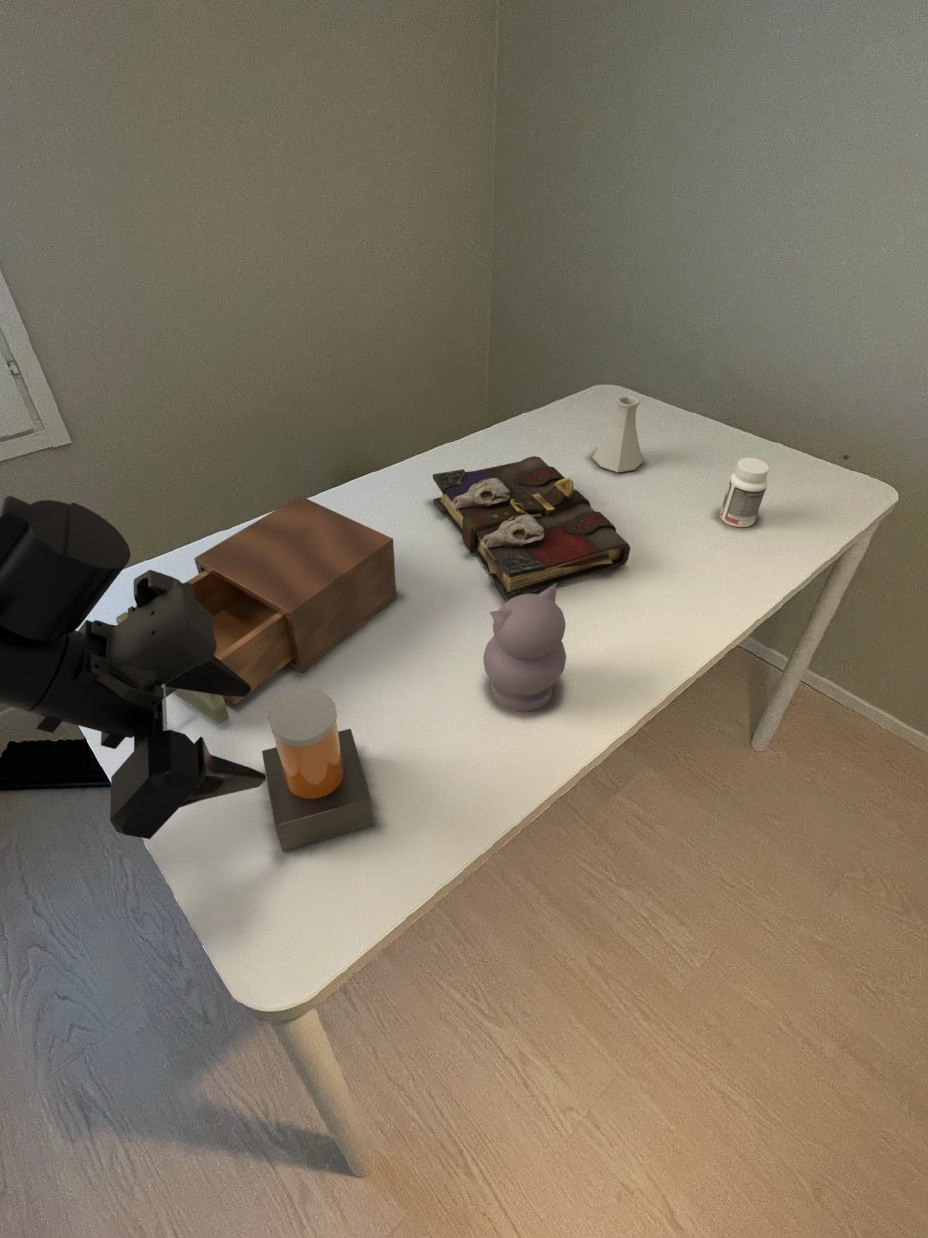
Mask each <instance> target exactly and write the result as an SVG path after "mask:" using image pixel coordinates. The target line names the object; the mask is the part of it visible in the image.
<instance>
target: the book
mask: <svg viewBox="0 0 928 1238" xmlns="http://www.w3.org/2000/svg"><path fill="white" fill-rule="evenodd" d="M432 480H433V481H434V483H435V484H436V486H437V487H438V489H439V490H440V492H441V496H440V497H436V498H433V499H432V503H433V505H434V506H435V507H436V508H437V509H438V510H439V511H440V513H441V514H442V515H445V516H446V517H447V519H448V520H449V521H450V523H452V525H453V526H454V527H455V528H456V529H457V531H458V532H459V533H460V534H461V535H462V541H463V543H464V545H465V547H466V549H467V550H468V552H469V553H470V554H473V555H474V554H475V555H476V556H477V558H478V559H479V561H480V562H481V563H482V565H483V567H484V568H485V570H486V571H487V573H488V574H489V576H490V577H491V579H492V580H493V583H494V586H495V587H496V589H497V591H498V592H499V594H500V595H501V597H502V599H503V600H504V603H506V602H507V601H509V600H510V599H512V598H514V597H516V596H519V595H523V594H540V593H541V592H543V591H544V590H545V588H546V589H547V588H549V587H551V586H552V585H554V584H555V583H557V585H559V584H561V583H565V582H569V581H573V580H575V579H578V578H579V579H580V578H581V577H582V578H583V577H586V576H590V575H593V574H596V573H599V572H604V571H614V570H618V569H620V568H622V567H623V566H624V565H626V563H627V562H628V561H629V557H630V552H631V547H630V546H631V545H630V544H629V543H628V542H627V541H626V540H625V539H624V538H623V537H622V536H621V535H620V534H619V533H618V532H617V528H616V526H615V525H614V524H613V523H612V522H611V521H610V520H609V519H608V518H607V517H606V516H605V515H604V514H603V513H601V512H600V511H595V510H594V509H593V508H592V505H591V502H590V500H588V499H587V497H585V495H583V494H582V493H581V492H580V491H579V490H578V489H574V480H572V479H571V478H570V477H565V476H563V474H562V473H561V472H560V471H558V469H556V468H555V467H554V466H551V465H548V463H546V462H545V461H544V460H543V459H542V458H541V457H540V456H536V455H532V456H529V457H526V458H524V459H522V460H520V461H516V462H510V463H506V464H500V465H497V466H491V467H486V468H481V469H477V470H471V471H470V470H469V471H465V469H464V468H463V469H462V468H461V469H456V470H449V471H445V472H444V471H443V472H438V473H433V474H432Z"/></svg>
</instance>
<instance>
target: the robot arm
mask: <svg viewBox="0 0 928 1238" xmlns="http://www.w3.org/2000/svg"><path fill="white" fill-rule="evenodd" d="M130 558H131V550H130V547H129V544H128V542H127V541H126V539H125V537H124V536H123V535H122V533H120V532H119V531H118V529H117V528H116V527H115V526H114V525H112V523H110V522H109V521H108V520H107V519H105V518H104V517H102V516H101V515H99V514H98V513H96V512H94V511H93V510H91V509H89V508H87V507H85V506H83V505H81V504H79V503H76V502H71V503H68V502H67V503H66V502H63V501H58V500H53V499H44V500H43V499H42V500H41V499H40V500H37V501H35V502H32V503H28V502H26V501H24V500H21V499H19V498H17V497H15V496H12V495H6V496H5V497H4V498H3V500H2V501H1V503H0V705H1V706H5V707H8V708H12V709H16V710H20V711H22V712H27V713H31V714H34V715H37V718H36V720H37V721H36V726H35V727H36V728H35V729H36V730H39V731H43V732H47V733H50V734H53V733H54V732H55V731H56V730H57V728H58V727H59V726H60V725H61V723H62V722H64V723H68V724H71V725H75V726H78V727H82V728H87V729H90V730H94V731H98V732H100V734H101V735H100V746H101V747H105V748H110V749H112V750H116V749H117V748H118V747H119V746H120V745H121V744H122V742H123V741H124V740H125V739H126V738H129V739H133V751H132V753H130V754H129V756H128V757H127V758H126V759H125V761H124V762H123V763H122V764H121V765H120V766H119V767H118V768H117V770H116V771H115V772H113V774H112V775H111V777H110V807H109V808H110V810H109V811H110V813H109V821H110V823H111V824H112V826H113V828H114V830H115V831H116V833H118V834H122V835H124V836H130V837H134V838H140V839H146V840H151V839H152V838H153V836H155V835H156V834H157V832H158V831H160V829H161V828H162V827H163V826H164V825H165V824H166V823H167V822H168V821H169V819H170V818H171V817H172V816H173V815H174V814H175V813H176V812H177V811H178V810H179V809H180V808H184V807H186V806H189V805H193V804H196V803H198V802H201V801H205V800H208V799H209V800H210V799H212V798H218V797H221V796H226V795H231V794H235V793H239V792H243V791H248V790H252V789H256V788H259V787H260V786H261V785H263V784H264V783H265V782H266V781H267V779H266V773H263V772H261V771H259V770H257V769H255V768H253V767H249V766H246V765H244V764H241V763H239V762H236V761H231V760H229V759H226V758H223V757H219V756H217V755H213V754H211V752H210V751H209V749H208V746H207V743H206V741H205V739H204V737H203V736H200V737H198V739H197V740H196V741H195V742H194V741H192V739H190V737H188V735H187V734H186V733H183V732H181V731H176V730H173V729H168V714H167V697H166V689H165V687H169V688H175V689H183V690H189V691H196V692H202V693H209V694H215V695H222V696H232V697H244V698H245V697H247V696H248V695H249V694H250V693H251V692H252V691H251V686H250V685H249V684H248V683H247V682H246V681H244V680H243V679H242V678H241V677H239V676H238V675H237V674H236V673H235V672H233V671H232V670H231V669H230V668H228V667H227V666H226V665H225V664H224V663H222V662H221V661H220V660H219V659H217V658H216V657H215V656H214V654H215V652H216V649H217V642H216V640H215V638H214V632H213V624H212V623H213V622H214V618H213V615H212V614H211V613H210V612H208V611H207V610H206V609H205V608H204V607H203V606H202V605H201V604H200V603H199V602H197V601H196V600H195V596H194V587H193V585H192V584H191V583H187V581H185V582H186V583H185V582H182V581H180V580H179V578H176V577H173V576H171V575H167V574H164V573H161V572H158V571H155V570H152V569H148V570H147V571H145V572H144V573H141V574H140V575H138V576H137V577H135V578H134V579H133V599H134V602H135V604H136V606H135V607H134V606H133V605H131V606H129V607H128V608H127V613H128V617H127V618H126V619H125V620H124V621H122V622H121V623H119V624H118V623H117V624H111V623H107V622H104V621H101V620H99V619H94V620H93V621H91V620H88V619H87V617H88V616H89V615H90V613H91V612H92V611H93V610H94V608H95V607H96V605H97V604H98V603H99V601H100V600H101V599H102V598H103V596H104V595H105V593H106V592H107V591H108V589H109V588H110V587H111V586H112V584H113V583H115V581H116V579H117V577H118V576H119V575H120V574H121V573H122V572H123V570H124V569H125V567H126V566H127V565H128V563H129V562H130ZM250 691H251V692H250ZM249 692H250V693H249ZM248 693H249V694H248ZM247 694H248V695H247Z"/></svg>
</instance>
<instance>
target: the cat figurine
mask: <svg viewBox="0 0 928 1238" xmlns="http://www.w3.org/2000/svg"><path fill="white" fill-rule="evenodd" d="M557 585H558V584H557V583H555V584H554V585H552V586H549V587H547V588H546V589H544V590H543V592H541V593H539V594H523V595H519V596H516V597H514V598H512V599H510V600H509V601H507V602H504V603H503V604H502V606H500V608H498V610H493V611H489V613H490V615H491V617H492V620H493V622H492V631H493V632H492V633H493V636H492V637H491V638H490V639H489V641H488V642H487V644H486V646H485V648H484V652H483V655H482V659H483V665H484V671H485V673H486V675H487V677H488V678H489V680H490V681H491V682H490V684H491V686H490V688H491V694H492V695H493V698H495V700H496V702H497V703H499V704H500V705H501V706H502V707H504V708H507V709H509V710H511V711H515V712H522V713H524V712H525V713H526V712H533V711H536V710H538V709H541V708H542V707H544V706H545V705H547V704H548V702H549V701H550V699H551V697H552V692H553V685H554V683H556V682H557V681H558V679H559V678H560V677H561V675H562V674H563V673H564V670H565V668H566V667H565V666H566V662H567V652H566V649H565V645H564V643H563V642H562V640H563V639H564V636H565V632H566V624H567V623H566V619H565V615H564V613H563V610H562V609H561V608H560V606H559V605H558V604H557V603H556V597H557Z"/></svg>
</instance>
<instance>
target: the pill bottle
mask: <svg viewBox="0 0 928 1238" xmlns="http://www.w3.org/2000/svg"><path fill="white" fill-rule="evenodd" d="M734 470H735V471H734V472H733V473H732V474H731V476H730V477H729V482H728V485H727V488H726V492H725V495H724V498H723V501H722V505H721V508H720V511H719V517H720V519H721V520H722V522H724V523H725V524H727V525H729V526H732V527H735V528H748V527H751V526H752V525H754V523H755V521H756V519H757V515H758V513H759V510H760V507H761V504H762V501H763V498H764V496H765V493H766V490H767V487H768V480H767V478H768V474H769V471H770V466H769V465H768V463H766V462H765V461H764V460H761V459H758V458H756V457H755V458H753V457H744V458H740V459H739V460H738V462H737V464H736V466H735V469H734Z"/></svg>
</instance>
